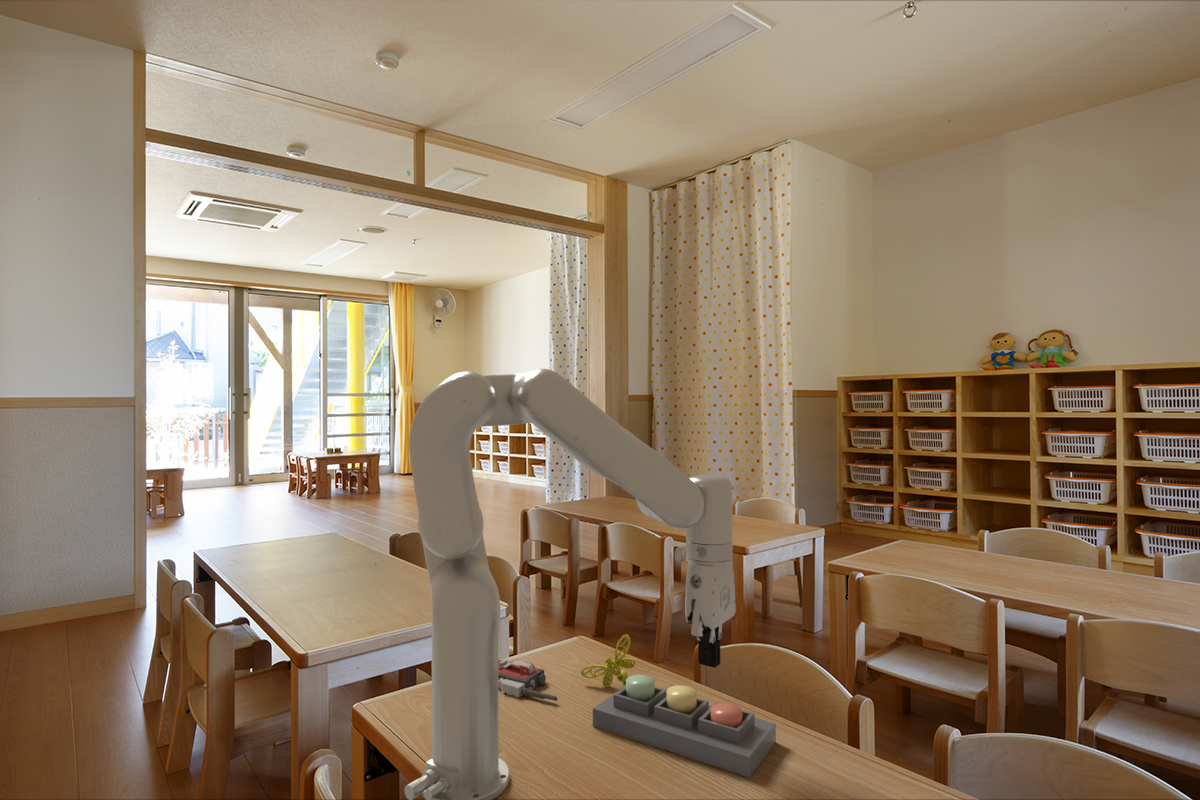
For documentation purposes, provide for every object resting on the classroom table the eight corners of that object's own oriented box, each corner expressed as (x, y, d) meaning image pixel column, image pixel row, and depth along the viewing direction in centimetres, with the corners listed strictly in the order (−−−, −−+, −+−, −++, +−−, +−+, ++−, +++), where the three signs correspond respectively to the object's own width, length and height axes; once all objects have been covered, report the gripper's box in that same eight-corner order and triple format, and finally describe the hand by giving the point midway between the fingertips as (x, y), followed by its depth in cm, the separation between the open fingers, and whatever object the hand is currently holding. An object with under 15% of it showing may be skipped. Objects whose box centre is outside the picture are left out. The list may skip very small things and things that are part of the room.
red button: (735, 737, 98) (735, 720, 98) (705, 728, 101) (705, 712, 101) (747, 723, 102) (747, 708, 102) (718, 715, 105) (718, 700, 105)
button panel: (749, 777, 93) (749, 743, 93) (592, 726, 109) (592, 696, 109) (775, 742, 103) (775, 711, 103) (628, 699, 119) (628, 672, 119)
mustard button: (688, 716, 103) (688, 701, 103) (661, 708, 106) (661, 693, 106) (701, 704, 107) (701, 689, 107) (675, 697, 110) (674, 682, 110)
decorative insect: (610, 716, 123) (578, 673, 125) (615, 708, 126) (583, 666, 128) (658, 677, 120) (624, 634, 123) (662, 671, 123) (629, 628, 126)
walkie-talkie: (468, 687, 126) (553, 709, 116) (468, 664, 126) (553, 685, 116) (496, 671, 133) (578, 690, 124) (496, 650, 134) (578, 667, 124)
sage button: (645, 704, 107) (645, 689, 107) (620, 697, 110) (620, 682, 110) (659, 693, 111) (659, 678, 111) (635, 686, 114) (635, 672, 114)
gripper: (710, 563, 95) (710, 686, 95) (748, 546, 108) (748, 655, 107) (666, 556, 100) (666, 674, 99) (707, 541, 112) (708, 645, 112)
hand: (709, 664), depth 103 cm, fingers closed
